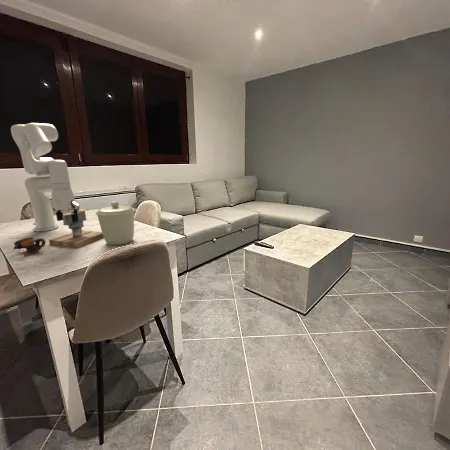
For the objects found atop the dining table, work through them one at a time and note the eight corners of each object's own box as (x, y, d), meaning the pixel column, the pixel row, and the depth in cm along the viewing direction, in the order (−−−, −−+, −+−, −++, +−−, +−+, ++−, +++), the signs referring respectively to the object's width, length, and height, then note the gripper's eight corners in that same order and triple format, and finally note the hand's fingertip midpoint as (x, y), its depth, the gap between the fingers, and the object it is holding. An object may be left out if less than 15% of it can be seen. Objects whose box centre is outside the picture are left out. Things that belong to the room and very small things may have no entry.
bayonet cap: (71, 230, 122) (68, 214, 120) (61, 229, 125) (58, 213, 123) (90, 225, 132) (87, 210, 130) (80, 224, 135) (78, 209, 133)
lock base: (49, 244, 125) (46, 231, 123) (79, 234, 141) (77, 222, 140) (77, 248, 120) (74, 234, 118) (105, 236, 136) (103, 224, 134)
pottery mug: (16, 260, 108) (8, 243, 108) (23, 261, 116) (16, 246, 116) (47, 247, 113) (39, 231, 113) (52, 250, 121) (45, 235, 122)
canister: (102, 239, 132) (96, 200, 127) (137, 235, 138) (133, 197, 133) (98, 250, 116) (91, 206, 110) (139, 245, 122) (134, 203, 117)
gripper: (40, 187, 118) (48, 221, 123) (68, 188, 113) (74, 224, 118) (55, 185, 125) (61, 218, 130) (82, 186, 120) (87, 220, 125)
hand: (67, 221), depth 124 cm, fingers open, 9 cm apart
